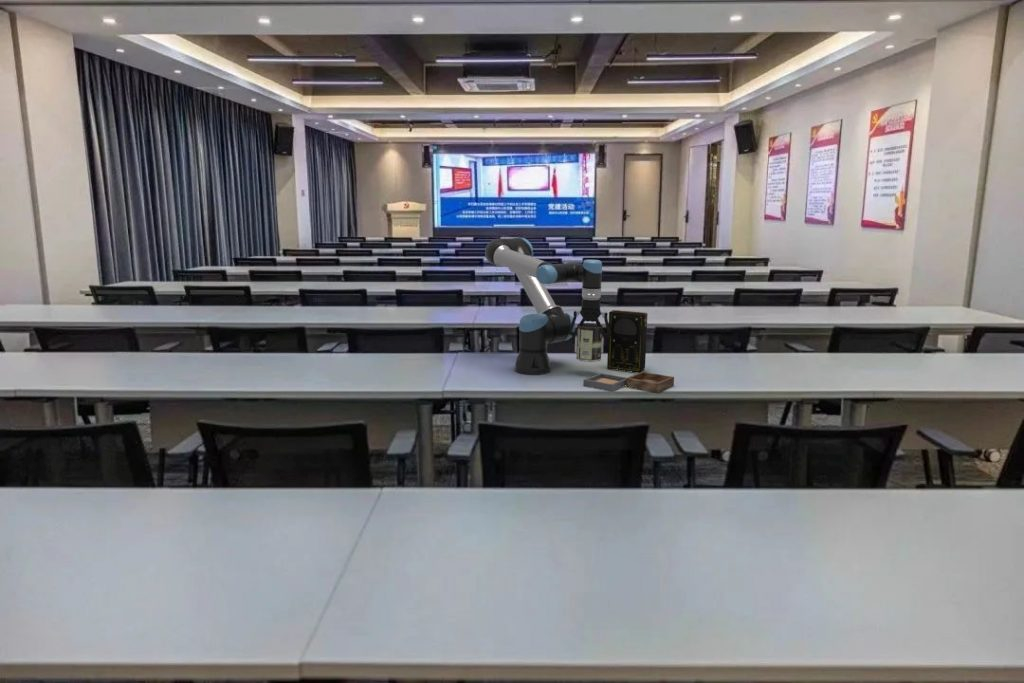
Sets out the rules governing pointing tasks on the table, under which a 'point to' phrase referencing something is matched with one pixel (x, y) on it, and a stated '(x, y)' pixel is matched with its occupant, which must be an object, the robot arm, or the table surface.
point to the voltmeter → (627, 340)
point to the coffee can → (589, 342)
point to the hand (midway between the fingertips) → (588, 352)
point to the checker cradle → (605, 382)
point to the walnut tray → (650, 382)
